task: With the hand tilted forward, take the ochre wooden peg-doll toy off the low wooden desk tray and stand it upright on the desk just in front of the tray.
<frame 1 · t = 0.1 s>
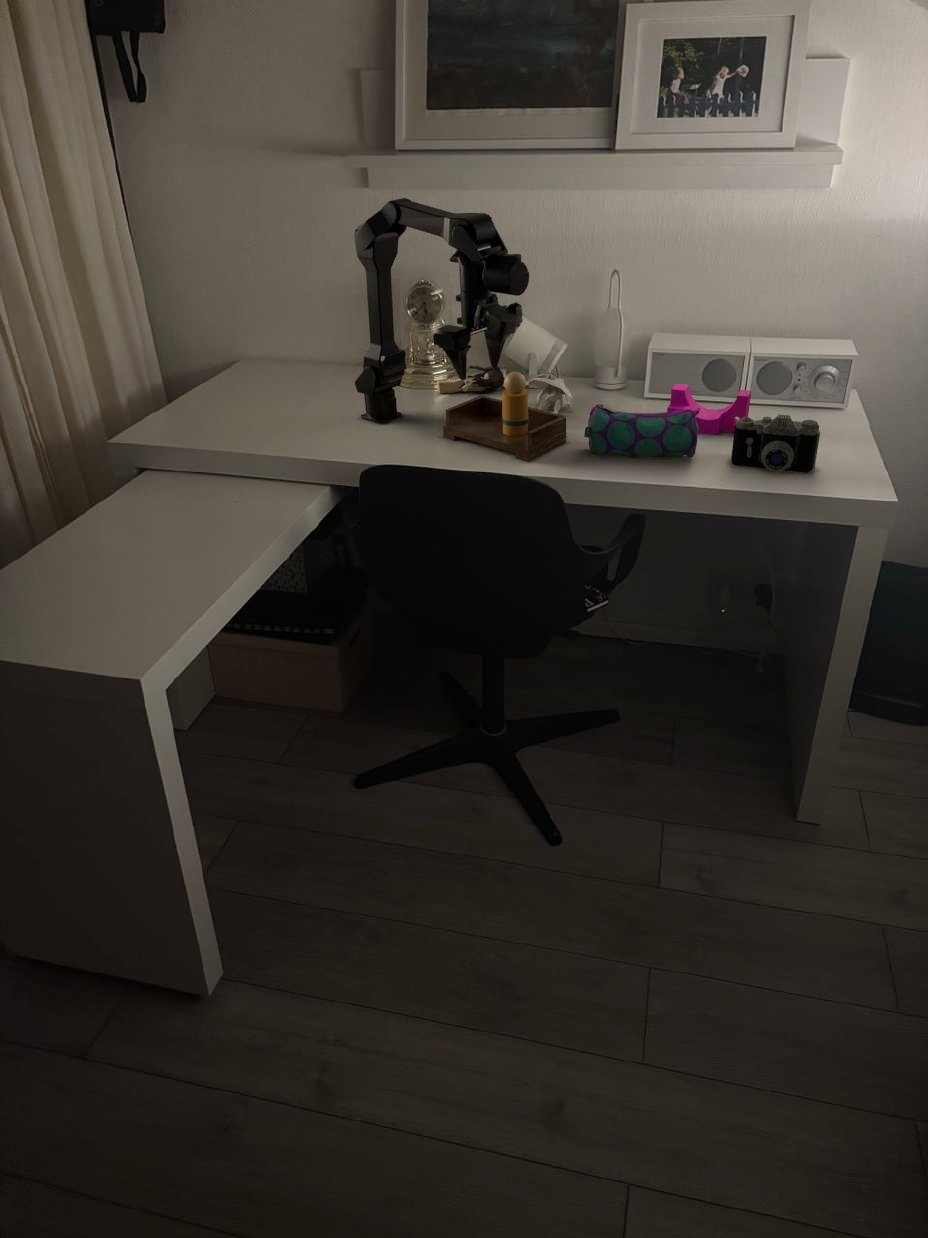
hand: (479, 373, 185), 15 cm above the table, tool pointing down, fingers open, 9 cm apart
wooden desk tray: (503, 440, 195), on the table
toy block: (706, 428, 196), on the table
toy figure: (472, 392, 221), on the table
pencil case: (640, 455, 186), on the table
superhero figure: (552, 410, 209), on the table
camera: (770, 470, 177), on the table
doll: (515, 431, 192), point 2 cm above the table, touching wooden desk tray
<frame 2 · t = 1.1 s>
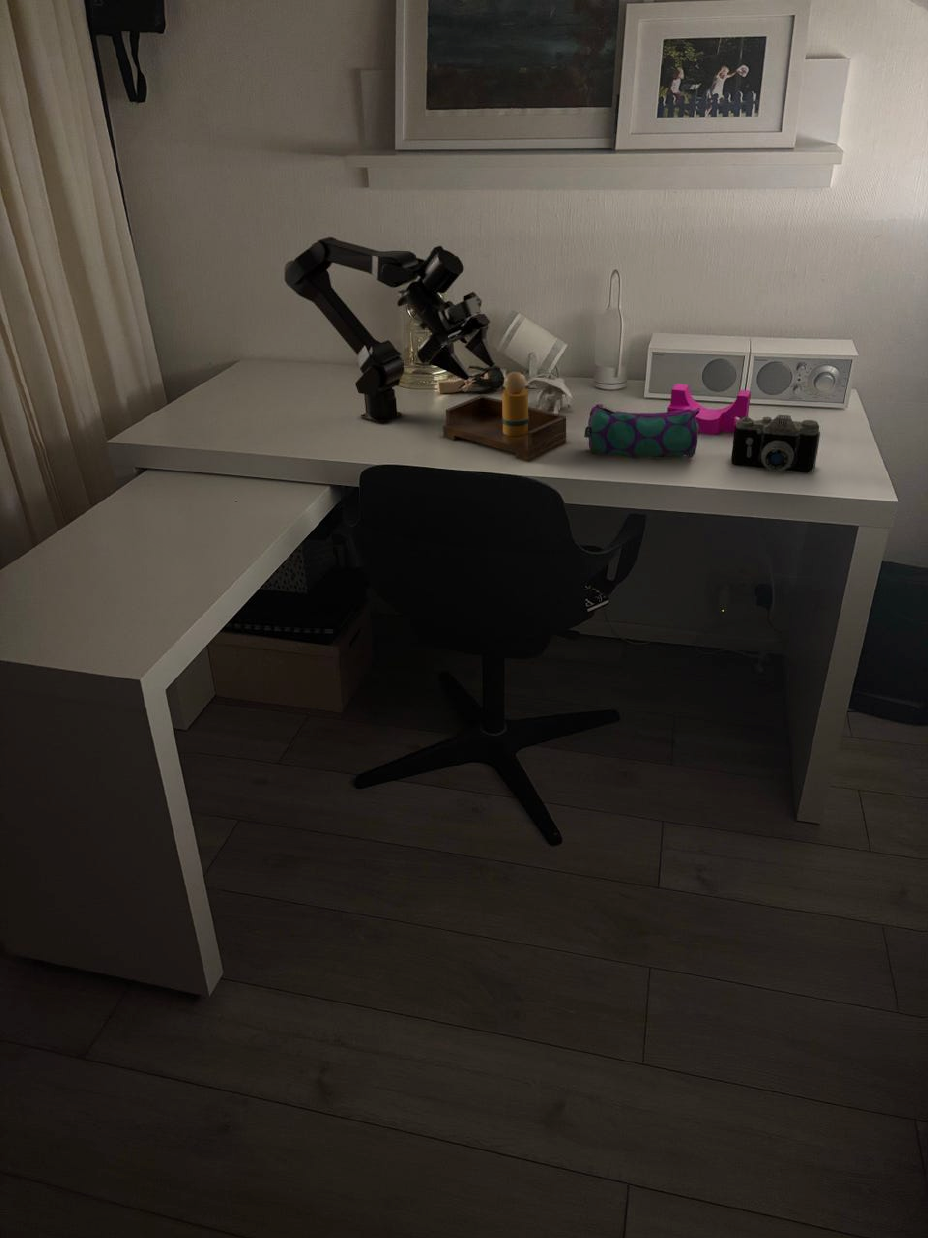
hand: (480, 372, 190), 13 cm above the table, tool tilted 45°, fingers open, 9 cm apart
nothing on the table moved.
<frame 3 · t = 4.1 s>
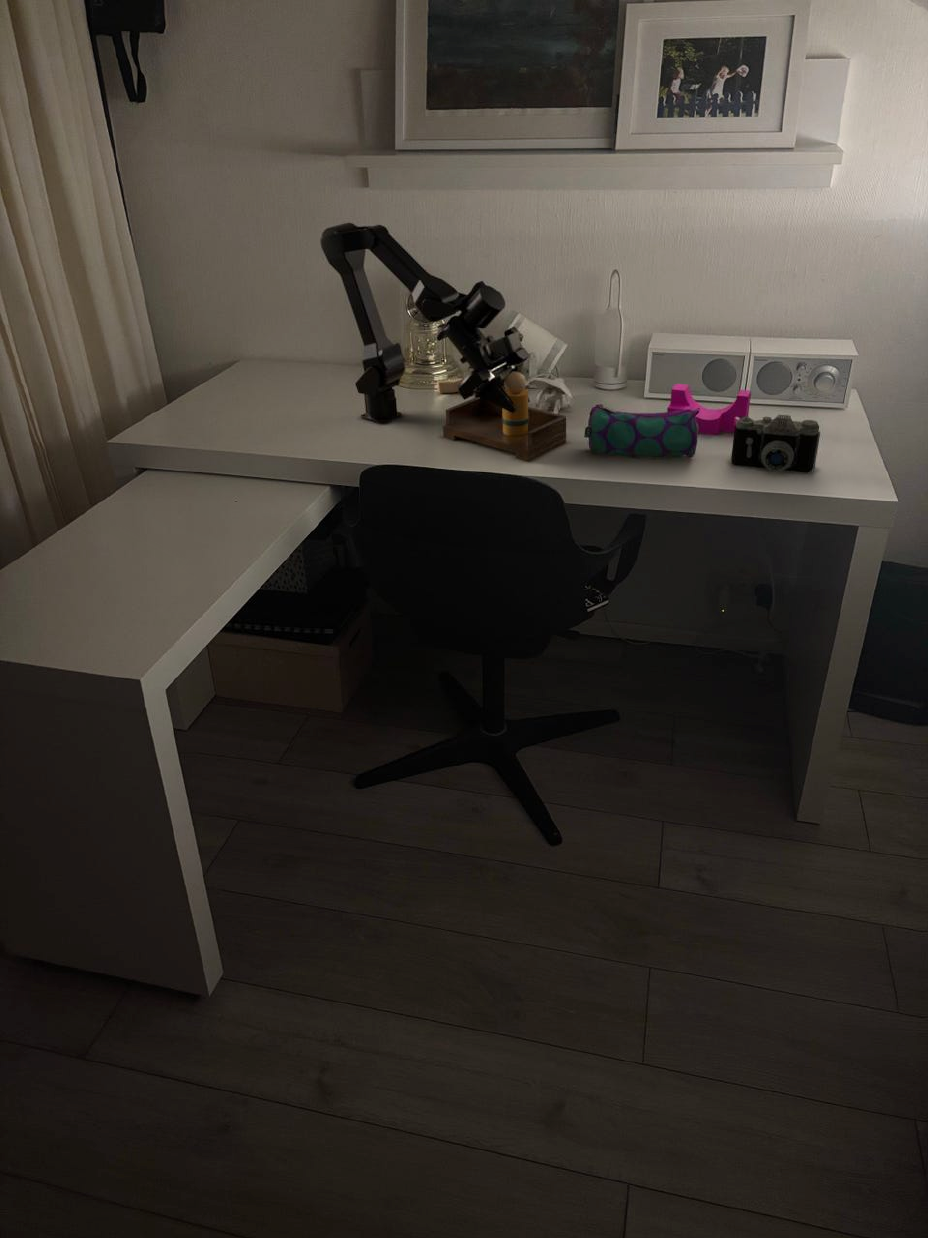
hand: (521, 407, 188), 8 cm above the table, tool tilted 45°, fingers closed on doll, 5 cm apart
doll: (515, 431, 192), point 3 cm above the table, touching gripper, wooden desk tray
everything else where it was.
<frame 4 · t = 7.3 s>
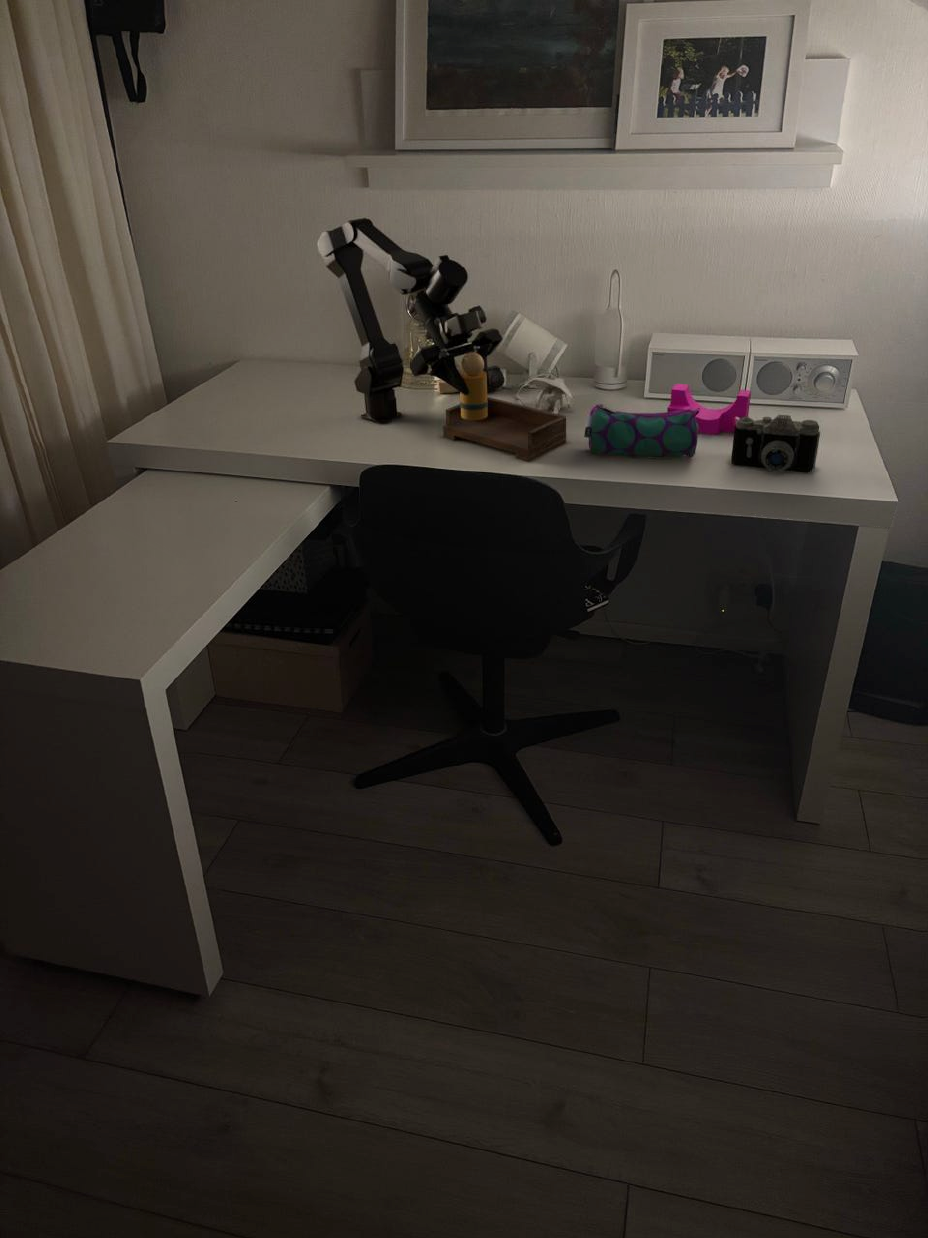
hand: (478, 390, 180), 13 cm above the table, tool tilted 45°, fingers closed on doll, 5 cm apart
doll: (474, 415, 183), point 8 cm above the table, touching gripper
everything else where it was.
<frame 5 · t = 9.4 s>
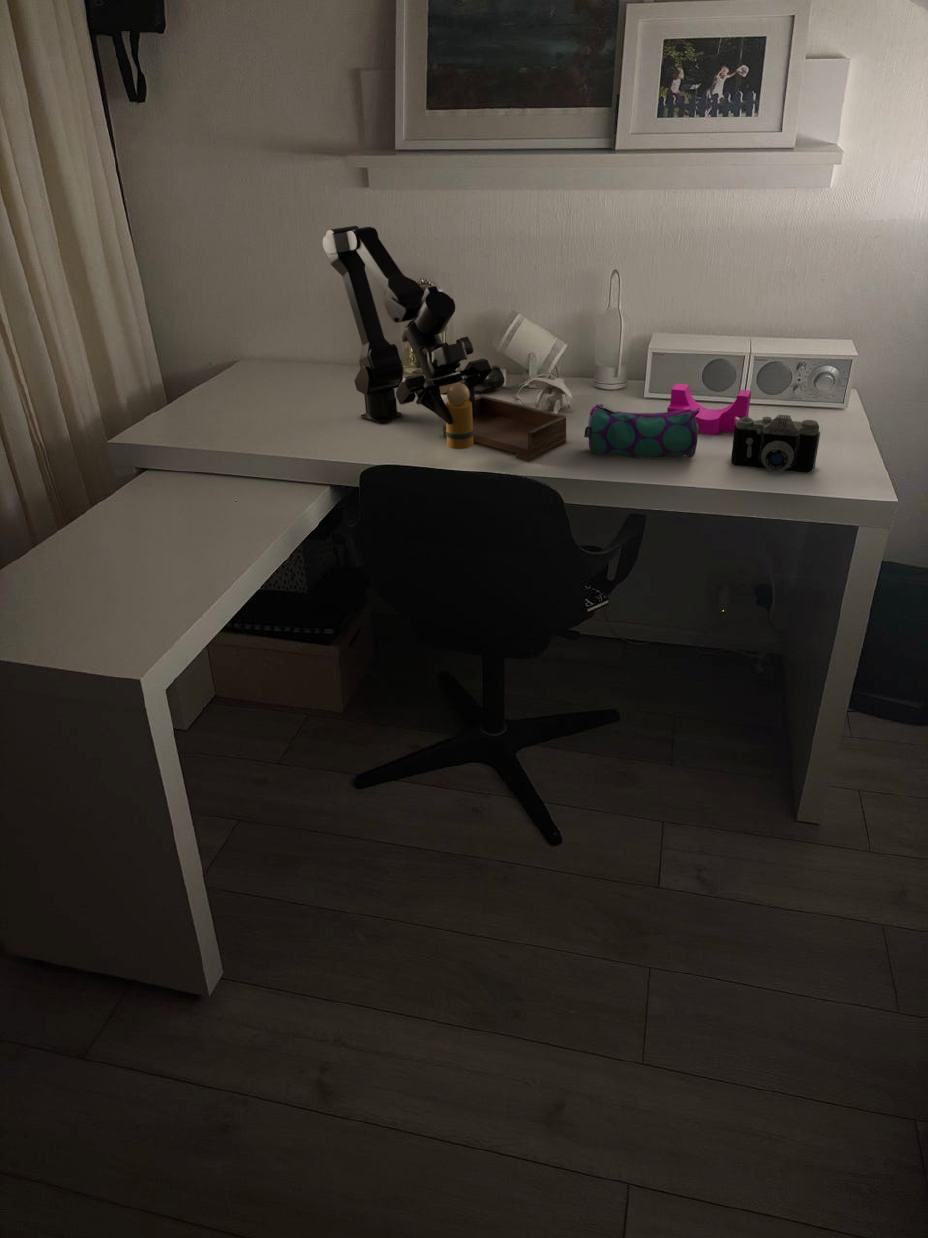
hand: (463, 420, 181), 8 cm above the table, tool tilted 45°, fingers closed on doll, 5 cm apart
doll: (460, 444, 185), point 3 cm above the table, touching gripper
everything else where it was.
when the fingers open (5 cm above the table, at t = 10.8 s): doll stays where it is, on the table.
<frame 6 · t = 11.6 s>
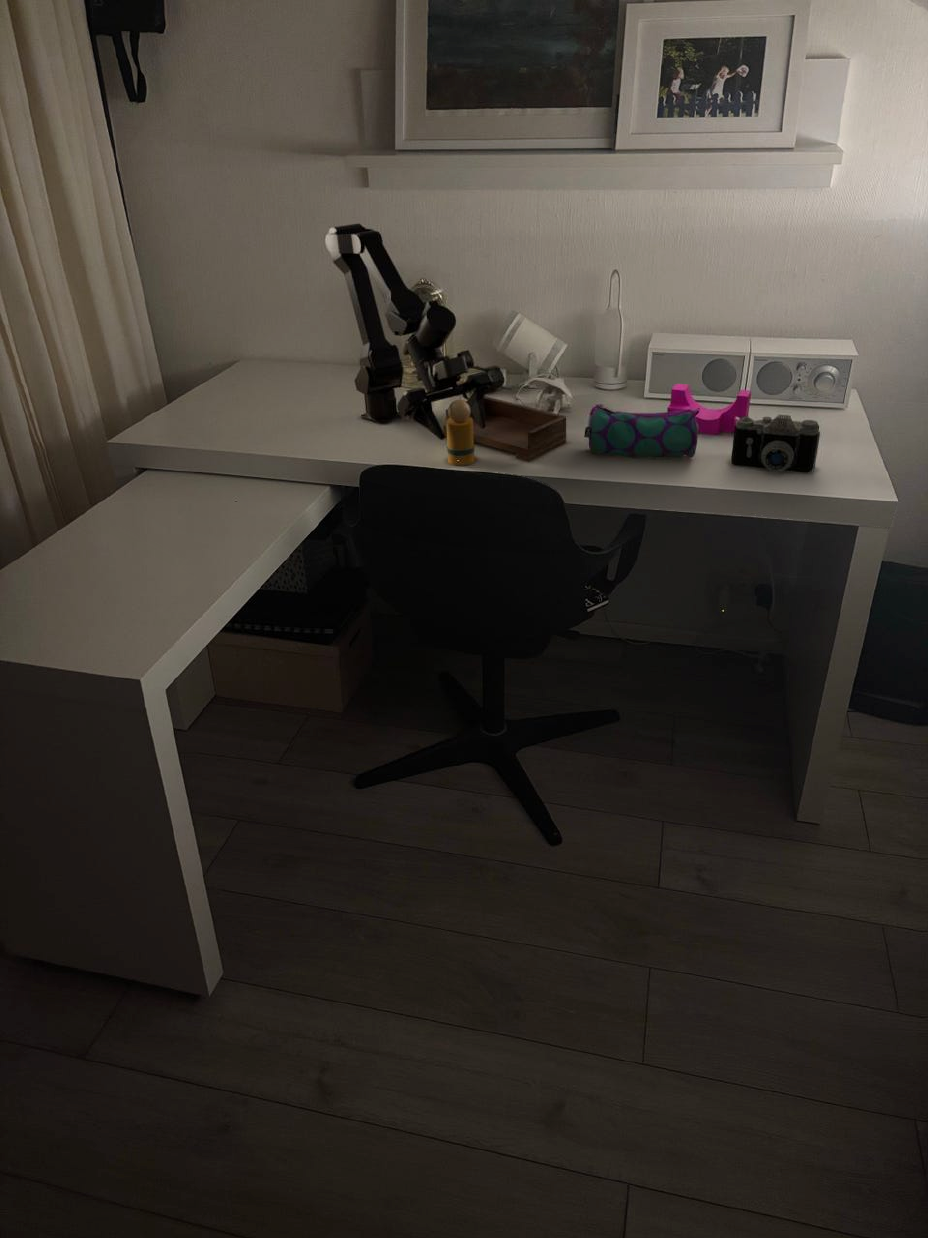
hand: (463, 433, 183), 6 cm above the table, tool tilted 45°, fingers open, 9 cm apart
doll: (461, 460, 187), on the table
everything else where it was.
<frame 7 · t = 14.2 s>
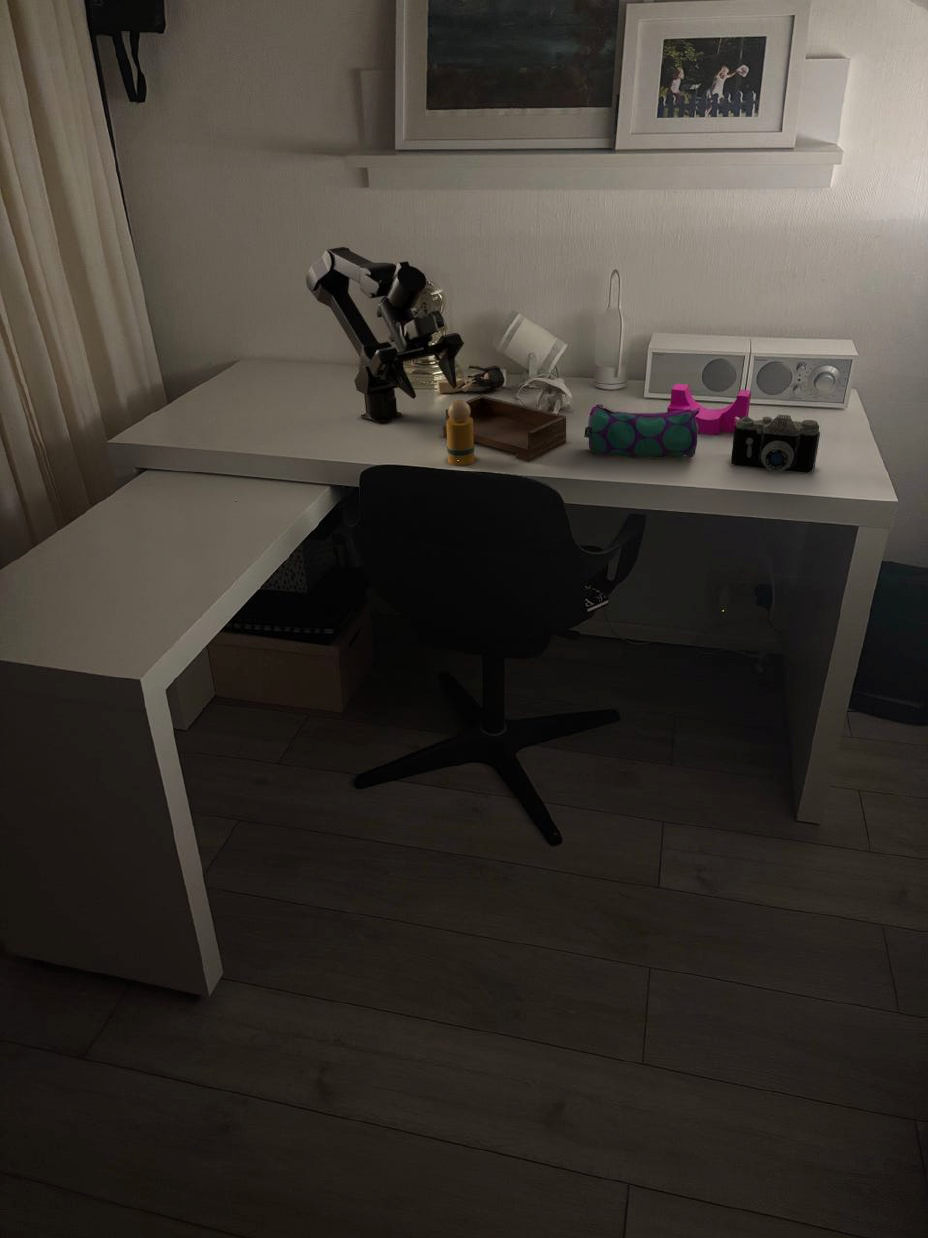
hand: (435, 392, 186), 11 cm above the table, tool tilted 45°, fingers open, 9 cm apart
nothing on the table moved.
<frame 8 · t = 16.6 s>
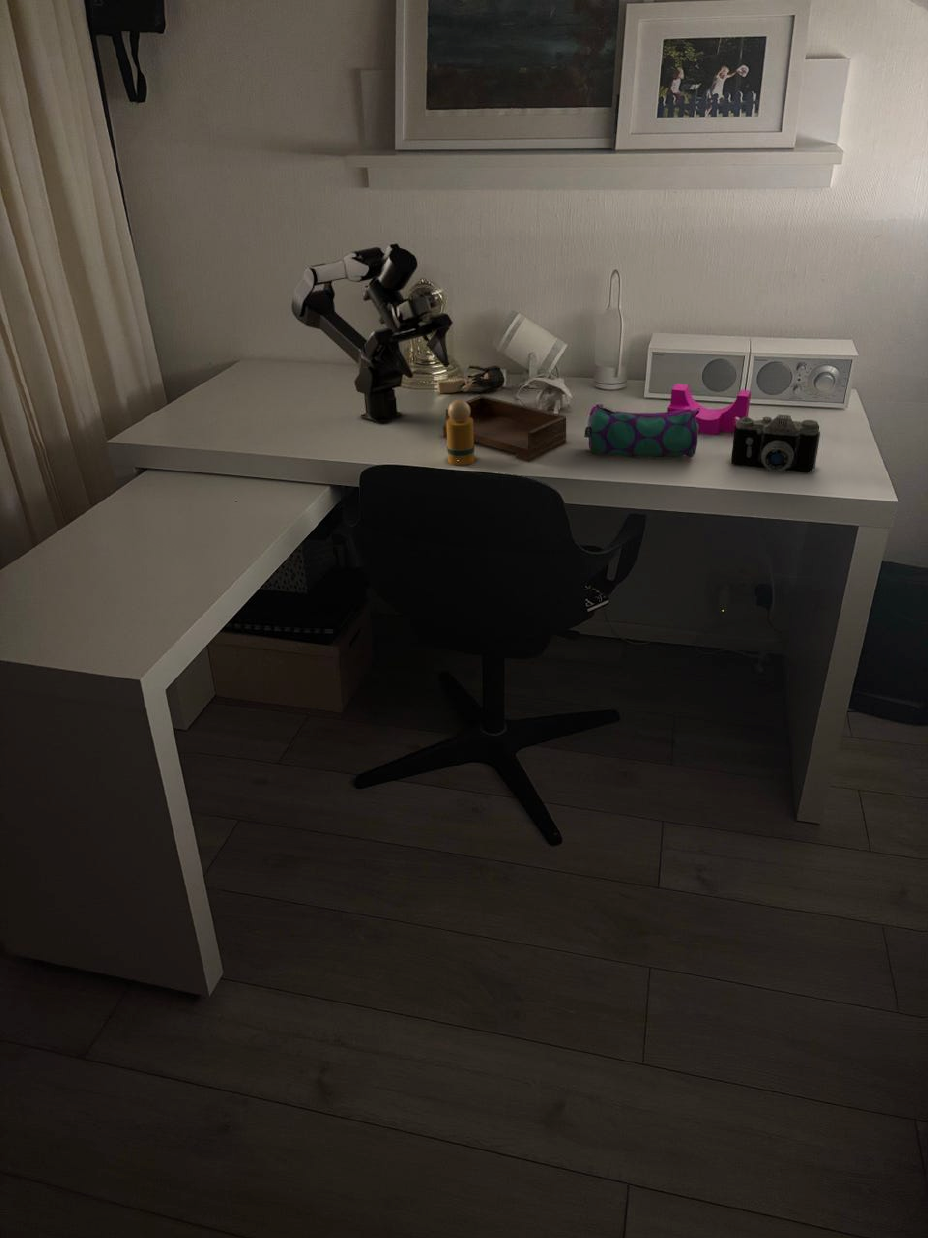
hand: (429, 371, 190), 14 cm above the table, tool tilted 45°, fingers open, 9 cm apart
nothing on the table moved.
at the end: doll inside the target area (0.3 cm from its centre), on the table; doll tilted 0°; doll touching table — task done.
